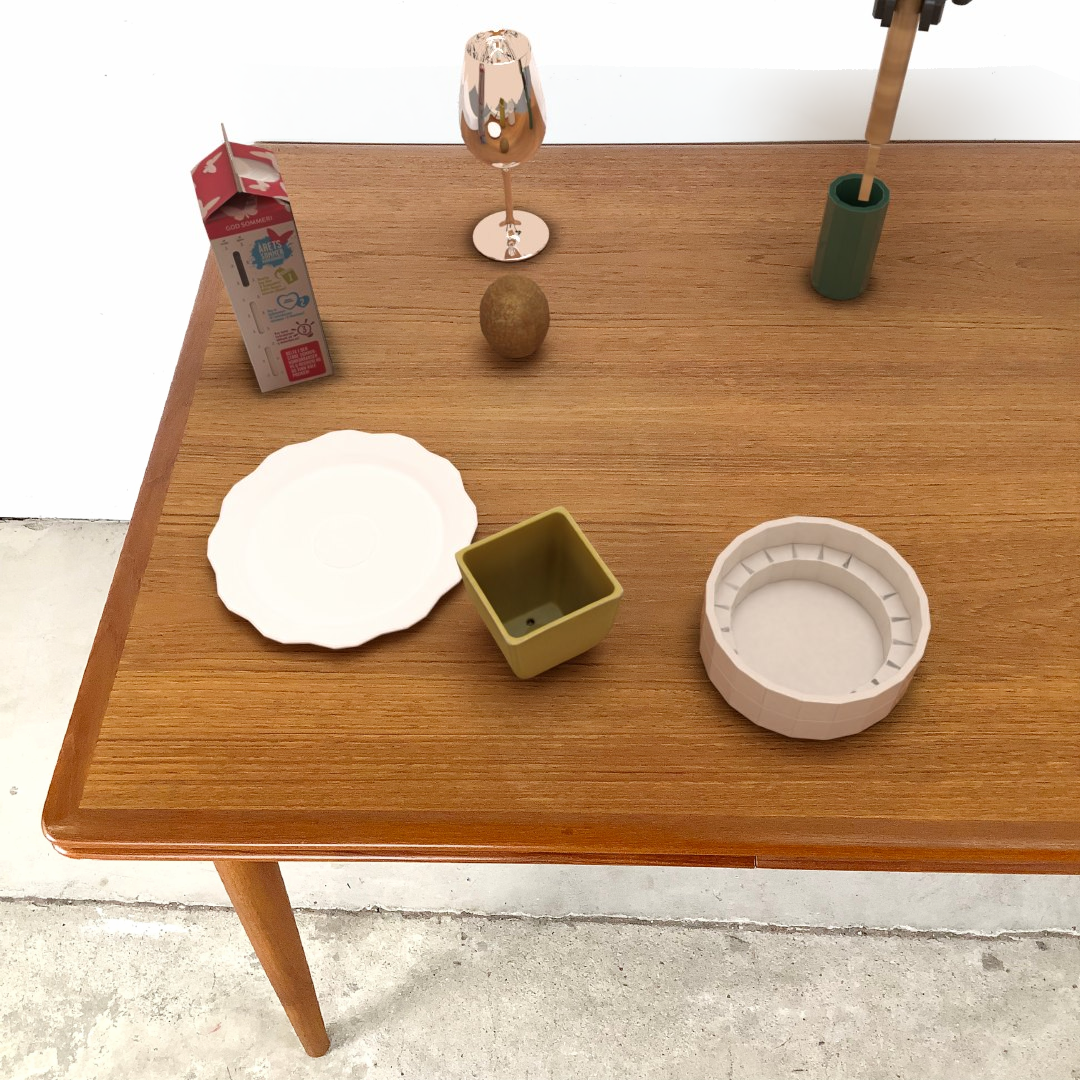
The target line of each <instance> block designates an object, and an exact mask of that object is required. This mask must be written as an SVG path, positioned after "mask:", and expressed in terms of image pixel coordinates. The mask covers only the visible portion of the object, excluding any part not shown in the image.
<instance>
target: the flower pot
mask: <svg viewBox="0 0 1080 1080" xmlns="http://www.w3.org/2000/svg"><path fill="white" fill-rule="evenodd" d="M455 559H456V562H457V564H458V567H459V570H460V573H461V576H462V579H461V580H462V581H463V585H464V587H465V591H466V593H467V596H468V597H469V600H470V602H471V603H472V606H473V607H474V609H475V610H476V612H477V614H478V615H479V617H480V618H481V620H482V621H483V623H484V625H485V626H486V628H487V629H488V631H489V632H490V635H491V636H492V637H493V639H494V641H495V643H496V644H497V646H498V647H499V649H500V651H501V653H502V654H503V656H504V658H505V659H506V662H507V663H508V664H509V666H510V668H511V670H512V672H513V673H514V674H515V675H516V677H517V678H519V679H523V680H527V679H530V678H534V677H536V676H538V675H540V674H542V673H545V672H546V671H548V670H550V669H552V668H554V667H556V666H558V665H560V664H562V663H565V662H567V661H569V660H571V659H573V658H575V657H578V656H579V655H581V654H584V653H585V652H587V651H589V650H591V649H592V648H594V647H596V646H598V644H600V643H601V642H602V641H603V640H605V638H606V637H607V636H608V635H609V633H610V632H611V630H612V628H613V626H614V623H615V620H616V617H617V614H618V610H619V607H620V604H621V601H622V598H623V595H624V588H623V586H622V585H621V583H620V582H619V581H618V579H617V578H616V576H615V575H614V574H613V572H612V571H611V569H610V568H609V567H608V566H607V564H606V563H605V562H604V560H603V559H602V557H601V556H600V555H599V553H598V552H597V550H596V548H595V547H594V546H593V544H592V543H591V541H590V540H589V539H588V537H587V536H586V535H585V533H584V532H583V530H582V529H581V527H580V526H579V524H578V523H577V522H576V520H575V519H574V518H573V516H572V514H570V512H569V511H568V510H567V509H566V508H565V507H564V506H563V505H559V506H556V507H553V508H550V509H548V510H546V511H543V512H540V513H538V514H536V515H534V516H532V517H530V518H528V519H525V520H523V521H521V522H519V523H516V524H513V525H511V526H509V527H507V528H506V529H503V530H501V531H498V532H496V533H494V534H492V535H489V536H487V537H485V538H482V539H480V540H478V541H475V542H473V543H471V544H470V545H469V546H467V547H465V548H463V549H461V550H459V551H458V552H456V553H455ZM528 621H533V624H532V625H529V623H528Z"/></svg>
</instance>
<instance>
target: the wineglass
mask: <svg viewBox="0 0 1080 1080" xmlns="http://www.w3.org/2000/svg"><path fill="white" fill-rule="evenodd" d="M462 59H463V61H462V67H461V73H460V74H461V75H460V85H459V94H458V125H459V130H460V135H461V138H462V141H463V143H464V144H465V146H466V148H467V150H468V151H469V153H470V154H471V155H472V156H473V157H474V158H475V159H476V160H477V161H479V162H480V163H482V164H484V165H487V166H489V167H491V168H495V169H499V170H500V172H501V176H502V182H503V193H504V194H503V196H504V206H505V207H504V208H505V209H504V210H502V211H498V212H495V213H492V214H490V215H487V216H486V217H484V218H483V219H482V220H480V221H479V222H478V223H477V225H475V228H474V230H473V232H472V243H473V245H474V247H475V249H476V250H477V252H479V253H480V254H481V255H483V256H484V257H486V258H488V259H491V260H494V261H498V262H503V263H504V262H505V263H506V262H507V263H509V262H510V263H512V262H520V261H524V260H527V259H530V258H532V257H535V256H536V255H538V254H539V253H540V252H541V251H543V250H544V249H545V247H546V246H547V245H548V242H549V240H550V229H549V227H548V225H547V224H546V223H545V221H544V220H543V219H542V218H541V217H540V216H537V215H536V214H534V213H532V212H528V211H525V210H518V209H517V210H515V209H514V208H513V207H514V206H513V193H512V172H513V171H512V170H513V169H514V168H516V167H517V168H518V167H519V166H521V165H523V164H525V163H526V162H528V161H529V160H531V159H532V158H533V157H534V156H535V154H536V153H537V152H538V150H539V149H540V147H541V146H542V144H543V142H544V138H545V136H546V133H547V123H548V122H547V121H548V120H547V119H548V117H547V107H546V101H545V95H544V91H543V87H542V82H541V77H540V74H539V70H538V69H539V68H538V66H537V62H536V59H535V55H534V52H533V48H532V45H531V41H530V39H529V38H528V37H527V36H526V35H525V34H523V33H522V32H520V31H517V30H514V29H511V28H491V29H486V30H482V31H480V32H477V33H475V34H474V35H472V36H471V37H469V39H468V40H467V41H466V43H465V46H464V53H463V58H462Z"/></svg>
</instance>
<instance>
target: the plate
mask: <svg viewBox="0 0 1080 1080" xmlns="http://www.w3.org/2000/svg"><path fill="white" fill-rule="evenodd" d="M219 512H220V513H219V517H218V518H219V519H218V520H217V522H216V524H215V525H214V527H213V529H212V531H211V533H210V535H209V537H208V539H207V551H206V552H207V553H206V556H207V559H208V561H209V563H210V565H211V567H212V569H213V571H214V573H215V581H216V589H217V590H216V591H217V595H218V597H219V598H220V600H221V601H222V602H223V604H224V606H225V607H226V608H227V610H228V611H229V612H231V613H232V614H235V615H237V616H239V617H241V618H243V619H245V620H247V621H248V622H249V623H251V624H252V626H253V627H254V628H255V629H256V630H257V631H258V632H259V633H260V634H261V635H262V636H263V637H264V638H266V639H270V640H272V641H274V642H277V643H281V644H283V645H296V644H297V645H298V644H299V645H300V644H301V645H302V644H303V645H304V644H308V645H309V644H310V645H314V646H319V647H323V648H328V649H331V650H341V649H346V648H348V649H349V648H356V647H360V646H361V645H364V644H365V643H367V642H369V641H371V640H374V639H375V638H378V637H380V636H382V635H387V634H391V633H395V632H399V631H403V630H407V629H410V628H411V627H412V626H414V625H416V624H417V623H419V622H420V621H422V620H424V619H425V618H427V617H428V615H429V614H430V613H431V611H432V609H433V608H434V607H435V605H436V604H437V603H438V602H439V600H440V599H441V598H442V597H443V596H444V595H446V594H447V593H448V592H449V591H451V590H452V589H453V588H454V587H456V586H457V585H458V584H459V583H460V582H461V580H463V579H462V576H461V573H460V570H459V567H458V564H457V562H456V559H455V553H456V552H458V551H459V550H461V549H463V548H465V547H467V546H469V545H471V544H472V541H473V538H474V536H475V533H476V531H477V529H478V525H479V523H478V514H477V506H476V505H475V504H474V502H473V500H472V499H471V498H470V496H469V494H468V493H467V492H466V490H465V486H464V484H463V480H462V476H461V472H460V471H459V470H458V468H456V467H455V466H454V465H453V463H452V462H451V461H450V460H449V459H447V458H444V457H442V456H440V455H438V454H435V453H433V452H432V451H429V450H428V449H427V448H425V447H424V446H423V445H421V444H420V443H419V442H418V441H416V439H414V438H412V437H409V436H405V435H402V434H399V433H396V432H394V433H393V432H389V433H388V432H387V433H385V432H384V433H371V432H365V431H360V430H354V429H344V430H335V431H329V432H327V433H325V434H323V435H320V436H318V437H315V438H313V439H311V440H308V441H303V442H298V443H294V444H289V445H284V446H283V447H282V448H280V449H278V450H276V451H274V452H272V453H270V454H268V455H267V456H266V457H265V458H264V460H263V461H262V462H261V463H260V464H259V465H258V466H257V468H256V469H254V471H252V472H251V473H249V474H248V475H247V476H244V477H243V478H242V479H241V480H239V481H238V482H236V483H234V484H233V486H232V487H231V489H230V490H229V491H228V492H227V494H226V496H224V498H223V499H222V503H221V508H220V511H219Z"/></svg>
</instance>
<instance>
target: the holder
mask: <svg viewBox="0 0 1080 1080" xmlns="http://www.w3.org/2000/svg"><path fill="white" fill-rule="evenodd" d="M862 176H863V173H855V172H853V173H848V174H842V175H840V176H837V177H836V178H834V180H832V181H831V182H830V183H829V184H828V188H827V194H826V198H825V203H824V209H823V214H822V217H821V218H822V219H821V223H820V228H819V233H818V238H817V242H816V243H817V244H816V247H815V252H814V257H813V261H812V266H811V274H810V285H811V287H813V289H814V291H816V292H817V293H818V294H820V295H821V296H823V297H824V298H828V299H831V300H835V301H847V300H852V299H855V298H857V297H859V296H861V295H863V293H864V292H865V291H866V289H867V286H868V285H869V282H870V279H871V275H872V274H871V273H872V270H873V266H874V262H875V258H876V254H877V251H878V247H879V243H880V240H881V237H882V232H883V229H884V225H885V220H886V216H887V212H888V208H889V205H890V201H891V189H890V188H889V187H888V186H887V184H886V183H885V182H884V181H883V180H882V179H880V178H877V177H875V176H874V179H873V183H872V187H871V191H870V195H869V200H868V201H863V200H858V198H859V192H860V187H861V181H862Z"/></svg>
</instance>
